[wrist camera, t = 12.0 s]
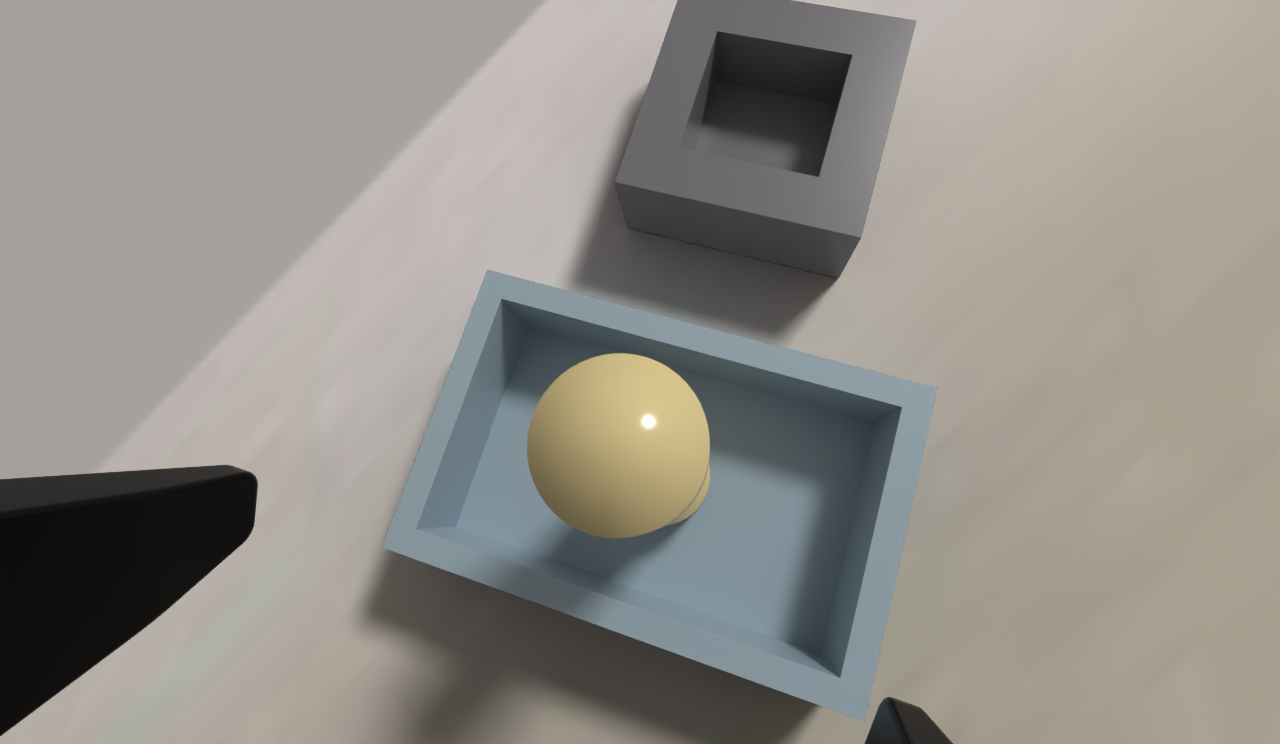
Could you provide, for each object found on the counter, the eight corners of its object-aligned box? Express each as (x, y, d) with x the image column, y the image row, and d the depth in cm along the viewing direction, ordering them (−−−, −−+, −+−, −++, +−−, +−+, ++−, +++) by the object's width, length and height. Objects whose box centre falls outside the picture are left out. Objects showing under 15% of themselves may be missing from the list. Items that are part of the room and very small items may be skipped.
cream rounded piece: (707, 425, 20) (704, 347, 11) (713, 523, 20) (715, 534, 10) (613, 430, 21) (527, 359, 11) (615, 526, 20) (526, 541, 10)
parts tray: (899, 408, 20) (937, 387, 17) (836, 683, 19) (865, 721, 15) (520, 305, 23) (487, 269, 19) (434, 541, 21) (381, 547, 18)
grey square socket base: (887, 88, 23) (916, 20, 20) (838, 278, 22) (861, 237, 18) (687, 52, 24) (683, -18, 21) (627, 228, 23) (614, 181, 20)
